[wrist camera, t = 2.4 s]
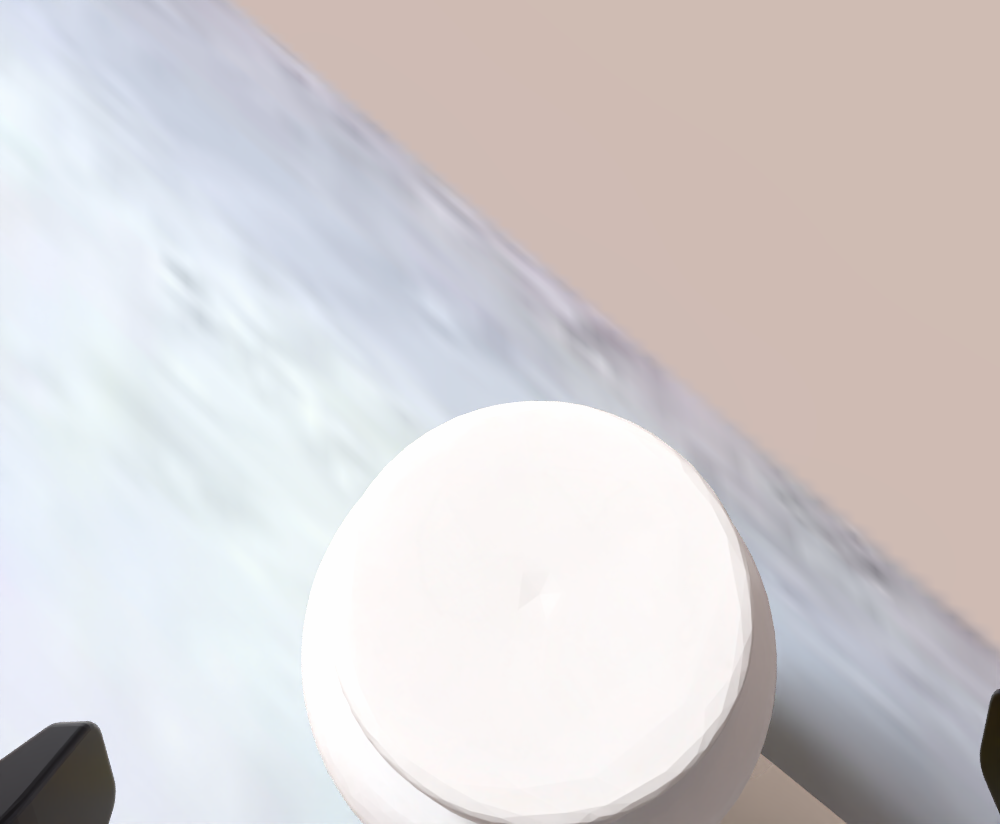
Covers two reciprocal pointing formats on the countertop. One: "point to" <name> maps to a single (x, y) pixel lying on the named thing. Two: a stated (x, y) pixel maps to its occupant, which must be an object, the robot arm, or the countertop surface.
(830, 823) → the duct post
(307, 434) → the countertop surface
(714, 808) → the supplement bottle
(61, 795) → the robot arm
